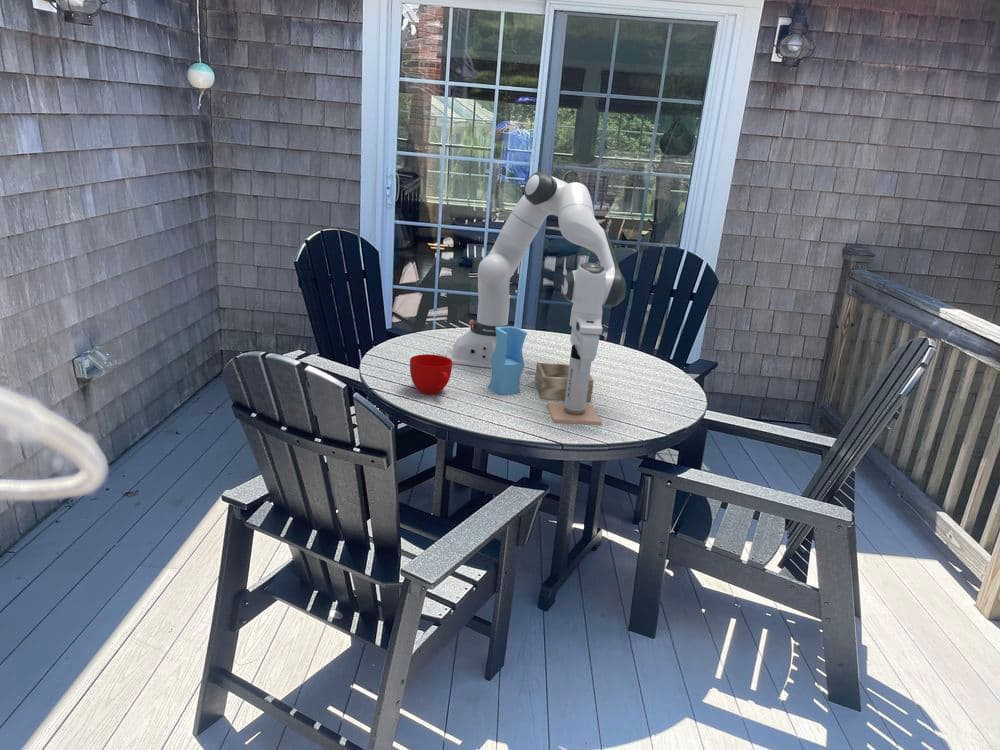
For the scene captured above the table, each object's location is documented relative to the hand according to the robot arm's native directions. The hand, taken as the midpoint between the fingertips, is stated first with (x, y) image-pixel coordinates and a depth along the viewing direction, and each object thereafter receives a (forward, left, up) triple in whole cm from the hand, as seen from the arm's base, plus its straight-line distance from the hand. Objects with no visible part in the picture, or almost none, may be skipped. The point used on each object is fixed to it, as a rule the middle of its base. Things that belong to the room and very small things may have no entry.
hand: (579, 367), depth 211 cm
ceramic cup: (-42, +12, -15) cm, 46 cm away
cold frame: (0, +21, -15) cm, 26 cm away
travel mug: (0, 0, -14) cm, 14 cm away
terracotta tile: (0, 0, -15) cm, 15 cm away
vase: (-19, +19, -15) cm, 31 cm away
